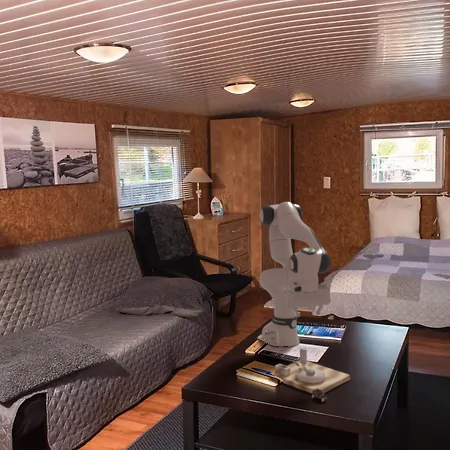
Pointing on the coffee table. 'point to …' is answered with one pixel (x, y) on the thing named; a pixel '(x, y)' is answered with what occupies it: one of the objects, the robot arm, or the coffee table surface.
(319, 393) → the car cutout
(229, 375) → the coffee table surface
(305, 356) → the dial
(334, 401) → the coffee table surface
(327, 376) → the stand board
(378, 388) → the coffee table surface
